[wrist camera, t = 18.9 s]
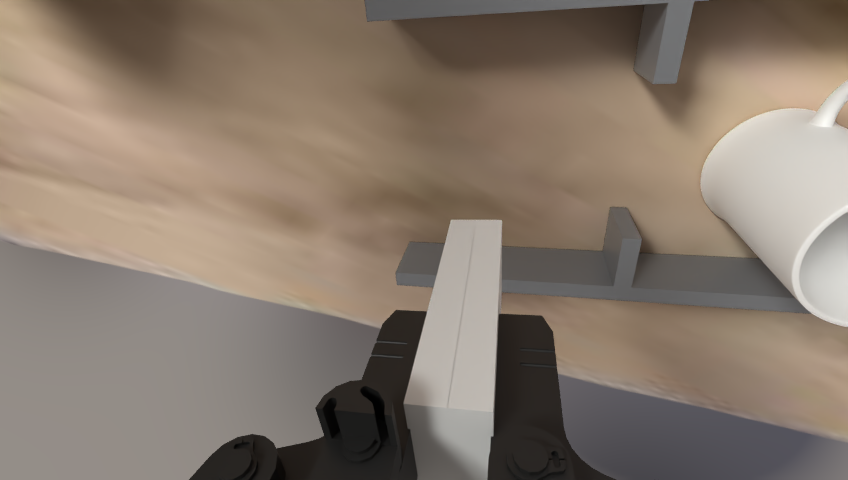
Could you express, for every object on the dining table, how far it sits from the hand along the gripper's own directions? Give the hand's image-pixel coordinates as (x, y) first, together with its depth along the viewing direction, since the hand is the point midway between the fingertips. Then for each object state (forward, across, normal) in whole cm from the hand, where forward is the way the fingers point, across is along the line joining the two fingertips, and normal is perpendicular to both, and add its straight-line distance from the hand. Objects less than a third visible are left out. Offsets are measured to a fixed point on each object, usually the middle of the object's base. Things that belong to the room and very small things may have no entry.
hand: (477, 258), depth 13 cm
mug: (+21, +19, -4) cm, 28 cm away
